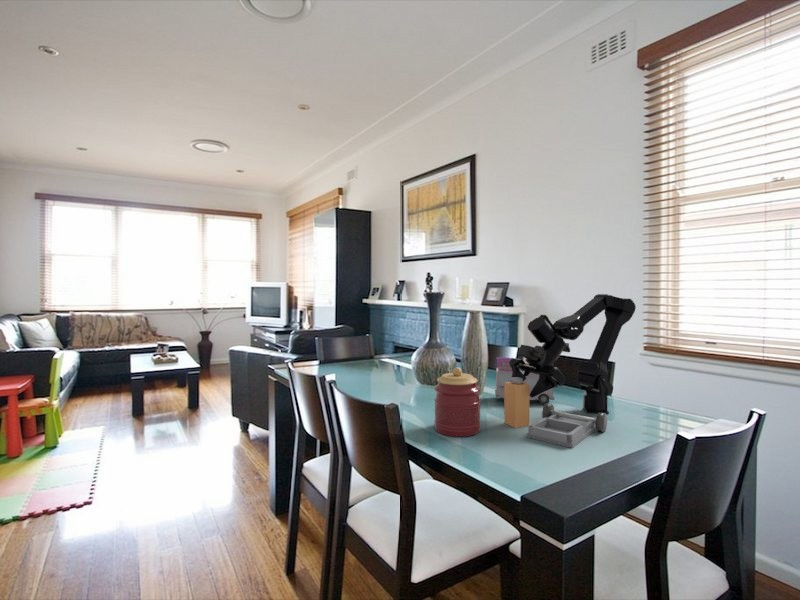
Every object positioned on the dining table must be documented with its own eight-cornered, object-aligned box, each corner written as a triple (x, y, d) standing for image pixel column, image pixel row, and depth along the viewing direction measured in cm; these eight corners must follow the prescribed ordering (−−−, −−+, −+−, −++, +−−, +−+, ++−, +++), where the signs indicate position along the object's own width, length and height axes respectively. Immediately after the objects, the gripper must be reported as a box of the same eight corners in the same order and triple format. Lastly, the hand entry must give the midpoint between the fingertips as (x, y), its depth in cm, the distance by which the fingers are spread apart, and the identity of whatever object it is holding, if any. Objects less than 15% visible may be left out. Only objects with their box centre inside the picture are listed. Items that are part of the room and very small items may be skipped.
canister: (442, 420, 129) (441, 362, 128) (485, 425, 124) (484, 365, 123) (428, 434, 117) (427, 369, 116) (475, 440, 112) (475, 373, 111)
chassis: (550, 417, 131) (550, 401, 131) (608, 428, 120) (608, 411, 120) (518, 435, 115) (518, 416, 115) (582, 450, 104) (582, 429, 104)
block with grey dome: (517, 420, 128) (517, 376, 128) (529, 425, 124) (529, 379, 123) (504, 423, 126) (504, 377, 126) (515, 427, 122) (515, 380, 121)
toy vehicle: (554, 406, 144) (554, 361, 144) (495, 403, 148) (495, 360, 148) (550, 399, 153) (550, 357, 153) (495, 396, 157) (495, 356, 157)
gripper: (513, 332, 135) (484, 369, 131) (557, 338, 118) (526, 381, 114) (532, 355, 139) (505, 392, 134) (578, 364, 122) (548, 407, 118)
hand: (519, 393), depth 125 cm, fingers open, 9 cm apart
